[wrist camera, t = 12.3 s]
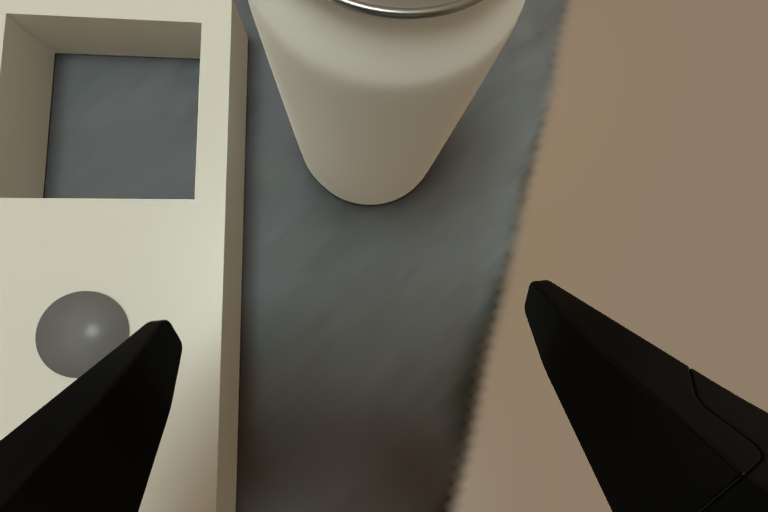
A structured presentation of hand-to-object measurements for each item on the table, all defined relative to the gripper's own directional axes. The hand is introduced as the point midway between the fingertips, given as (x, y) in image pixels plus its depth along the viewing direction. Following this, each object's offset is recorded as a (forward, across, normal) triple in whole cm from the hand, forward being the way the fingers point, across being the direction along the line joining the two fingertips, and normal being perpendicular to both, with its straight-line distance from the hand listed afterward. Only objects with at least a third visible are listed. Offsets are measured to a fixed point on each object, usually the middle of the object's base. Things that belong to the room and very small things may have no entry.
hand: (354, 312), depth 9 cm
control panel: (+6, +11, +4) cm, 13 cm away
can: (+12, -1, 0) cm, 12 cm away
